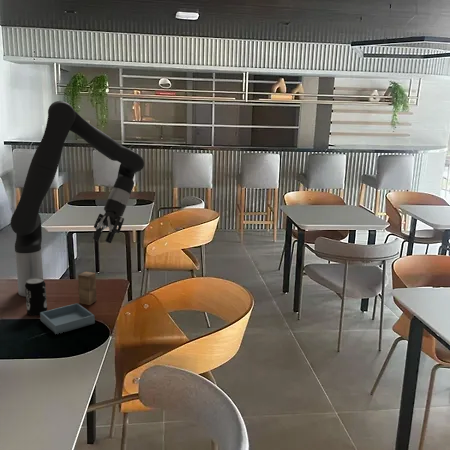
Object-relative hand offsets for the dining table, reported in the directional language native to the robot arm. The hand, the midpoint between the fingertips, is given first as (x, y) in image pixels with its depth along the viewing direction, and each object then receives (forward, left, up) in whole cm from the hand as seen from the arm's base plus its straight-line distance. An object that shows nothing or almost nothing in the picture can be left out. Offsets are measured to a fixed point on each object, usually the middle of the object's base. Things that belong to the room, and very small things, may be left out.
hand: (101, 241), depth 175 cm
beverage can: (0, -26, -22) cm, 34 cm away
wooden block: (+2, -8, -22) cm, 23 cm away
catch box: (+14, -21, -22) cm, 33 cm away
